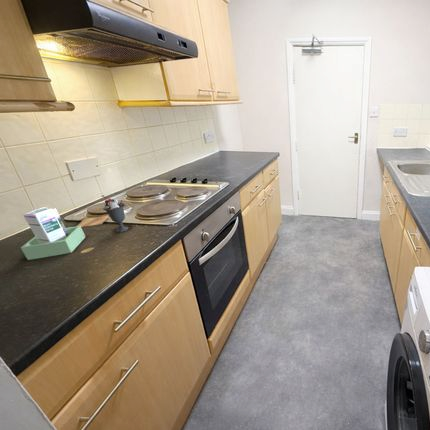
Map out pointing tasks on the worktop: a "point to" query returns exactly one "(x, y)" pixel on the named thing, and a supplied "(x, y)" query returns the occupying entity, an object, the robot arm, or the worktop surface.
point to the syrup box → (46, 225)
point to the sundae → (115, 212)
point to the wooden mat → (92, 221)
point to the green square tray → (54, 245)
